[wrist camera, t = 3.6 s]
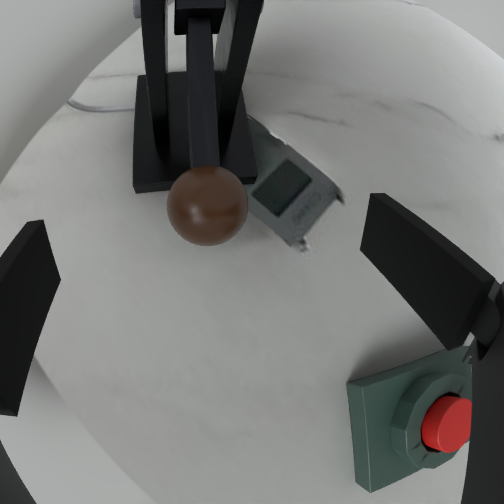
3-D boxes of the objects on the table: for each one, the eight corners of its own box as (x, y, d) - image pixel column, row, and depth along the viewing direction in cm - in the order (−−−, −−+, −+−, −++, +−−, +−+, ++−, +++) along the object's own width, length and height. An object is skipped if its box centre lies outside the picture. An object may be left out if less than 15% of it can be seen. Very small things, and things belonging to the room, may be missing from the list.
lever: (242, 239, 15) (259, 244, 12) (171, 246, 14) (168, 253, 11) (225, 0, 13) (236, -37, 10) (165, 1, 13) (165, -36, 9)
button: (420, 455, 15) (437, 462, 14) (419, 407, 16) (437, 410, 14) (458, 434, 16) (475, 438, 14) (457, 388, 17) (475, 390, 15)
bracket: (254, 184, 22) (319, 35, 9) (135, 194, 20) (89, 39, 8) (236, 79, 24) (269, -55, 12) (139, 85, 22) (126, -53, 10)
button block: (355, 482, 17) (383, 503, 14) (345, 383, 19) (377, 390, 15) (455, 434, 20) (488, 441, 16) (450, 346, 21) (486, 344, 18)
